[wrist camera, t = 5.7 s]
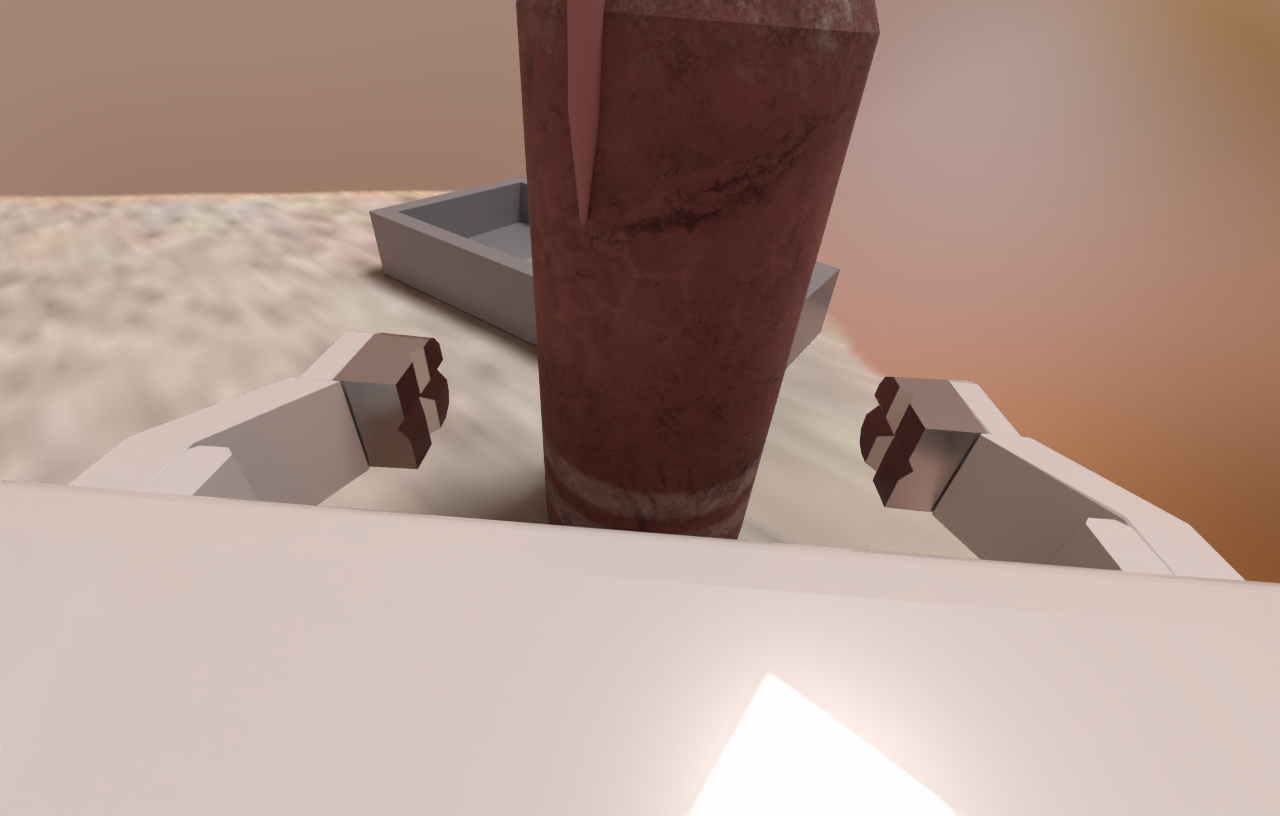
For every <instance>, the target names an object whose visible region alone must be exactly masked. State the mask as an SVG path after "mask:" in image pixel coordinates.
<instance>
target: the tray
mask: <svg viewBox="0 0 1280 816" xmlns="http://www.w3.org/2000/svg"><path fill="white" fill-rule="evenodd" d="M369 212H370V216H371V220H372V225H373V229H374V233H375V237H376V241H377V245H378V249H379V253H380V258H381V262H382V266H383V270H384V274H386V275H388V276H390V277H392V278H394V279H397V280H399V281H401V282H403V283H405V284H407V285H409V286H411V287H413V288H416V289H418V290H420V291H422V292H424V293H426V294H428V295H430V296H432V297H435V298H437V299H439V300H441V301H443V302H445V303H447V304H449V305H451V306H453V307H456V308H458V309H460V310H462V311H464V312H466V313H468V314H470V315H472V316H475V317H477V318H479V319H481V320H483V321H485V322H487V323H489V324H491V325H494V326H496V327H498V328H500V329H502V330H504V331H506V332H508V333H510V334H513V335H515V336H517V337H519V338H521V339H523V340H525V341H527V342H529V343H531V344H534V345H536V346H537V335H536V319H535V302H534V286H533V270H532V254H531V237H530V221H529V205H528V189H527V178H524V177H517V178H512V179H508V180H503V181H499V182H495V183H491V184H486V185H482V186H477V187H473V188H469V189H464V190H460V191H456V192H451V193H447V194H442V195H438V196H434V197H429V198H425V199H421V200H416V201H412V202H408V203H403V204H399V205H395V206H390V207H386V208H382V209H377V210H373V211H369ZM839 271H840V269H839V268H835V267H832V266H828V265H825V264H822V263H818V262H816V263H815V266H814V270H813V273H812V277H811V280H810V284H809V288H808V291H807V295H806V298H805V302H804V305H803V309H802V312H801V316H800V320H799V323H798V327H797V330H796V334H795V337H794V341H793V345H792V348H791V352H790V355H789V359H788V362H787V366H788V365H789V364H790V363H791V362H792V361H793V360H794V359H795V358H796V357H797V356H798V355H799V354H800V353H801V352H802V351H803V349H804V348H805V347H806V346H807V345H808V344H809V343H810V342H811V341H812V340H813V339H814V338H815V337H816V336H817V335H818V334H819V333H820V332H821V329H822V326H823V322H824V319H825V316H826V313H827V310H828V306H829V303H830V300H831V297H832V294H833V290H834V287H835V284H836V281H837V277H838V274H839ZM787 366H786V367H787Z"/></svg>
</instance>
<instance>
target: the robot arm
mask: <svg viewBox="0 0 1280 816" xmlns="http://www.w3.org/2000/svg"><path fill="white" fill-rule="evenodd" d="M442 360H443V358H442V353H441V349H440V345H439V343H438V342H437V341H436V340H435V339H434V338H426V337H417V336H407V335H397V334H387V333H378V332H368V331H346V332H345V333H344V334H343V335H342V336H341V337H340V338H339V339H338V340H337V341H336V342H335V343H334V344H333V345H332V346H331V347H330V348H329V349H328V350H327V351H326V352H325V353H324V354H323V355H322V356H321V357H320V358H319V359H317V360H316V361H315V362H314V363H313V364H312V365H311V366H310V367H309V368H308V369H307V370H306V371H305V372H304V373H303V374H302V375H301V376H300V377H299V378H296V377H288V378H286V379H283V380H280V381H278V382H275V383H272V384H270V385H267V386H264V387H261V388H259V389H256V390H253V391H251V392H248V393H245V394H243V395H240V396H237V397H235V398H232V399H229V400H226V401H224V402H221V403H218V404H216V405H213V406H210V407H208V408H205V409H202V410H200V411H197V412H194V413H192V414H189V415H186V416H183V417H181V418H178V419H175V420H173V421H170V422H167V423H165V424H162V425H159V426H157V427H154V428H151V429H148V430H146V431H143V432H140V433H138V434H135V435H132V436H130V437H127V438H126V439H125V440H124V441H122V442H121V443H120V444H119V445H117V446H116V447H115V448H113V449H112V450H111V451H110V452H108V453H107V454H106V455H105V456H103V457H102V458H101V459H100V460H98V461H97V462H96V463H94V464H93V465H92V466H91V467H89V468H88V469H87V470H86V471H84V472H83V473H82V474H80V475H79V476H78V477H77V478H75V479H74V480H73V481H72V482H70V483H69V484H68V485H57V484H44V483H32V482H20V481H7V480H0V816H1280V584H1279V583H1267V582H1253V581H1245V580H1244V579H1243V578H1242V577H1241V576H1240V575H1239V574H1238V573H1237V572H1236V571H1235V570H1234V569H1233V568H1232V567H1231V566H1230V565H1229V564H1228V563H1227V562H1226V561H1225V560H1224V559H1223V558H1222V557H1221V556H1220V555H1219V554H1218V553H1217V552H1216V551H1215V550H1214V549H1213V548H1212V547H1211V546H1210V545H1209V544H1208V543H1207V542H1206V541H1205V540H1204V539H1203V538H1202V537H1201V536H1200V535H1199V534H1198V533H1197V532H1196V531H1195V530H1194V529H1193V528H1192V527H1191V526H1190V525H1189V524H1187V523H1185V522H1183V521H1182V520H1180V519H1178V518H1176V517H1174V516H1172V515H1170V514H1169V513H1167V512H1165V511H1163V510H1161V509H1160V508H1158V507H1156V506H1154V505H1152V504H1150V503H1149V502H1147V501H1145V500H1143V499H1141V498H1139V497H1137V496H1136V495H1134V494H1132V493H1130V492H1128V491H1126V490H1125V489H1123V488H1121V487H1119V486H1117V485H1116V484H1114V483H1112V482H1110V481H1108V480H1106V479H1105V478H1102V477H1101V476H1099V475H1097V474H1095V473H1093V472H1092V471H1090V470H1088V469H1086V468H1084V467H1083V466H1081V465H1079V464H1077V463H1075V462H1073V461H1072V460H1070V459H1068V458H1066V457H1064V456H1062V455H1060V454H1059V453H1057V452H1055V451H1053V450H1051V449H1050V448H1048V447H1046V446H1044V445H1042V444H1040V443H1039V442H1037V441H1035V440H1033V439H1031V438H1025V437H1021V436H1020V435H1019V434H1018V433H1017V431H1016V430H1015V429H1014V428H1013V427H1012V425H1011V424H1010V423H1009V422H1008V421H1007V419H1006V418H1005V417H1004V416H1003V415H1002V413H1001V412H1000V411H999V410H998V409H997V407H996V406H995V405H994V404H993V402H992V401H991V400H990V399H989V398H988V396H987V395H986V394H985V393H984V392H983V390H982V389H981V388H980V387H979V386H978V384H975V383H973V382H971V381H959V380H937V379H936V380H935V379H919V378H902V377H885V378H884V379H883V380H882V382H881V383H880V384H879V386H878V389H877V391H876V393H875V397H876V400H877V402H878V405H879V406H877V407H876V408H875V409H873V410H872V411H871V412H869V413H868V414H866V417H865V420H864V422H863V425H862V428H861V435H860V447H861V453H862V456H863V458H864V461H865V463H866V464H868V465H869V466H870V467H871V468H873V469H874V470H875V471H877V472H876V474H875V476H874V478H873V482H874V484H875V486H876V489H877V491H878V493H879V495H880V498H881V500H882V502H883V505H884V507H888V508H897V509H906V510H915V511H925V512H933V513H932V515H933V516H934V517H935V518H936V519H937V520H939V521H940V522H941V523H942V524H943V525H944V526H945V527H946V528H947V529H948V530H949V531H950V532H951V533H953V534H954V535H955V536H956V537H957V538H958V539H959V540H960V541H961V542H962V543H963V544H964V545H966V546H967V547H968V548H969V549H970V550H971V551H972V552H973V553H974V554H975V555H976V556H977V557H978V558H980V559H969V558H957V557H944V556H932V555H920V554H907V553H895V552H883V551H871V550H858V549H846V548H834V547H821V546H809V545H797V544H784V543H772V542H760V541H748V540H735V539H723V538H710V537H697V536H685V535H672V534H659V533H647V532H635V531H622V530H610V529H598V528H586V527H573V526H561V525H549V524H536V523H524V522H512V521H499V520H487V519H475V518H463V517H450V516H438V515H426V514H413V513H401V512H389V511H376V510H364V509H352V508H340V507H327V506H317V505H318V504H320V503H321V502H323V501H324V500H325V499H327V498H328V497H330V496H331V495H333V494H334V493H335V492H337V491H338V490H340V489H341V488H343V487H344V486H346V485H347V484H348V483H350V482H351V481H353V480H354V479H356V478H357V477H358V476H360V475H361V474H363V473H364V472H366V471H367V470H368V469H369V466H370V467H388V468H407V469H418V468H419V466H420V464H421V462H422V461H423V459H424V457H425V455H426V453H427V452H428V450H429V448H430V446H431V444H432V443H431V439H430V434H431V433H433V432H434V431H436V430H438V429H440V428H441V426H442V424H443V422H444V420H445V418H446V414H447V410H448V405H449V390H448V384H447V380H446V379H445V378H444V376H443V375H442V374H441V373H440V372H439V371H438V370H437V368H438V367H439V365H440V363H441V362H442Z"/></svg>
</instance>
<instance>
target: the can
mask: <svg viewBox="0 0 1280 816" xmlns="http://www.w3.org/2000/svg"><path fill="white" fill-rule="evenodd" d="M516 10H517V26H518V42H519V59H520V75H521V91H522V105H523V106H522V107H523V122H524V123H523V124H524V140H525V156H526V172H527V189H528V205H529V221H530V237H531V254H532V270H533V286H534V302H535V319H536V335H537V351H538V367H539V384H540V400H541V416H542V432H543V449H544V465H545V481H546V497H547V510H548V518H549V525H561V526H573V527H586V528H598V529H610V530H622V531H635V532H647V533H659V534H672V535H685V536H697V537H710V538H723V539H735V540H737V538H738V535H739V532H740V530H741V527H742V523H743V519H744V516H745V512H746V509H747V505H748V502H749V498H750V494H751V491H752V487H753V484H754V480H755V477H756V473H757V469H758V466H759V462H760V459H761V455H762V452H763V448H764V444H765V441H766V437H767V434H768V430H769V427H770V423H771V420H772V416H773V412H774V409H775V405H776V402H777V398H778V395H779V391H780V387H781V384H782V380H783V377H784V373H785V370H786V366H787V362H788V359H789V355H790V352H791V348H792V345H793V341H794V337H795V334H796V330H797V327H798V323H799V320H800V316H801V312H802V309H803V305H804V302H805V298H806V295H807V291H808V288H809V284H810V280H811V277H812V273H813V270H814V266H815V263H816V259H817V255H818V252H819V248H820V245H821V241H822V237H823V234H824V230H825V227H826V223H827V220H828V216H829V213H830V209H831V205H832V202H833V198H834V195H835V191H836V187H837V184H838V180H839V176H840V173H841V169H842V166H843V163H844V159H845V156H846V152H847V148H848V145H849V141H850V138H851V134H852V130H853V127H854V123H855V120H856V116H857V113H858V109H859V106H860V102H861V98H862V95H863V91H864V88H865V84H866V80H867V77H868V73H869V70H870V66H871V63H872V59H873V55H874V52H875V48H876V45H877V41H878V38H879V34H880V31H879V24H878V18H877V11H876V4H875V0H517V1H516Z"/></svg>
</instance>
